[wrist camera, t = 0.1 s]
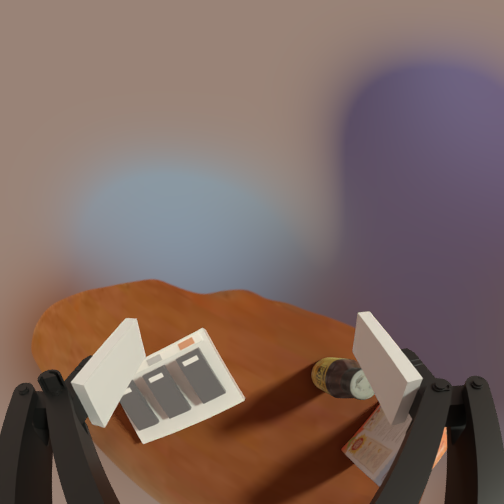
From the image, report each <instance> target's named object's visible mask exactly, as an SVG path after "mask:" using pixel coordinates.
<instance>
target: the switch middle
mask: <svg viewBox="0 0 504 504" xmlns="http://www.w3.org/2000/svg"><path fill="white" fill-rule="evenodd" d="M142 377H143V379H144V380H145V382H146V384H147V385H148V387H149V389H150V390H151V392H152V393H153V395H154V396H155V398H156V400H157V401H158V403H159V404H160V406H161V407H162V409H163V410H164V412H165V413H166V415H167V416H168V417H169V419H171V418H173V417H175V416H178V415H180V414H182V413H185V412H187V411H189V410H191V406H190V404H189V403H188V401H187V400H186V398H185V397H184V395H183V394H182V392H181V391H180V389H179V387H178V386H177V384H176V383H175V381H174V379H173V378H172V376H171V375H170V373H169V371H168V370H167V368H166V366H165V365H162V366H160V367H158V368H156V369H154V370H152V371H150V372H148V373H146V374H144V375H143V376H142Z"/></svg>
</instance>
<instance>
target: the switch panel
mask: <svg viewBox="0 0 504 504" xmlns="http://www.w3.org/2000/svg"><path fill="white" fill-rule="evenodd" d="M198 347H199V348H200V350H201V351H202V353H203V355H204V356H205V358H206V360H207V361H208V363H209V365H210V366H211V368H212V370H213V371H214V373H215V374H216V376H217V378H218V379H219V381H220V382H221V384H222V385H223V387H224V389H225V390H226V393H225V394H223V395H221V396H219V397H217V398H215V399H213V400H211V401H209V402H207V403H205V404H203V403H202V401H201V400H200V398H199V397H198V395H197V394H196V392H195V391H194V389H193V388H192V386H191V384H190V383H189V381H188V380H187V378H186V376H185V375H184V373H183V372H182V370H181V368H180V367H179V365H178V363H177V362H176V359H177V358H178V357H180V356H182V355H184V354H186V353H188V352H190V351H192V350H194V349H196V348H198ZM162 365H165V366H166V368H167V370H168V371H169V373H170V375H171V376H172V378H173V379H174V381H175V383H176V384H177V386H178V387H179V389H180V391H181V392H182V394H183V395H184V397H185V398H186V400H187V401H188V403H189V404H190V406H191V410H189V411H187V412H185V413H182V414H180V415H178V416H175V417H173V418H171V419H169V417H168V416H167V415H166V413H165V412H164V410H163V409H162V407H161V406H160V404H159V403H158V401H157V400H156V398H155V396H154V395H153V393H152V392H151V390H150V389H149V387H148V385H147V384H146V382H145V380H144V379H143V377H142V376H143V375H144V374H146V373H148V372H150V371H152V370H154V369H156V368H158V367H160V366H162ZM132 380H134V382H135V384H136V385H137V387H138V389H139V390H140V392H141V394H142V395H143V397H144V398H145V400H146V401H147V403H148V405H149V406H150V408H151V409H152V411H153V412H154V414H155V415H156V416H157V418H158V419H159V423H158V424H156V425H153V426H151V427H148V428H146V429H143V430H140V431H139V430H138V429H137V427H136V426H135V425H134V423H133V422H132V420H131V419H130V417H129V416H128V414H127V413H126V411H125V410H124V411H125V413H126V415H127V416H128V418H129V420H130V422H131V424H132V426H133V428H134V429H135V431H136V433H137V435H138V436H139V438H140V440H141V442H142V443H143V444H145V443H147V442H150V441H153V440H156V439H159V438H161V437H164V436H167V435H169V434H172V433H174V432H177V431H179V430H182V429H184V428H187V427H189V426H191V425H194V424H196V423H198V422H201V421H203V420H205V419H207V418H210V417H212V416H214V415H216V414H218V413H220V412H222V411H224V410H227V409H229V408H231V407H233V406H235V405H237V404H239V403H241V402H243V401H244V400H245V397H244V395H243V394H242V392H241V390H240V389H239V387H238V385H237V384H236V382H235V380H234V379H233V377H232V375H231V374H230V372H229V370H228V369H227V367H226V365H225V363H224V362H223V360H222V358H221V356H220V355H219V353H218V351H217V349H216V348H215V346H214V344H213V342H212V340H211V338H210V337H209V335H208V333H207V331H206V330H205V329H204V328H201V329H200V330H198V331H196V332H194V333H192V334H190V335H188V336H186V337H184V338H183V339H181V340H179V341H177V342H175V343H173V344H171V345H169V346H167V347H165V348H163V349H161V350H159V351H157V352H155V353H153V354H151V355H149V356H147V357H145V358H144V360H143V362H142V363H141V365H140V367H139V368H138V370H137V372H136V373H135V375H134V377H133V379H132ZM123 409H124V408H123Z"/></svg>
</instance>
